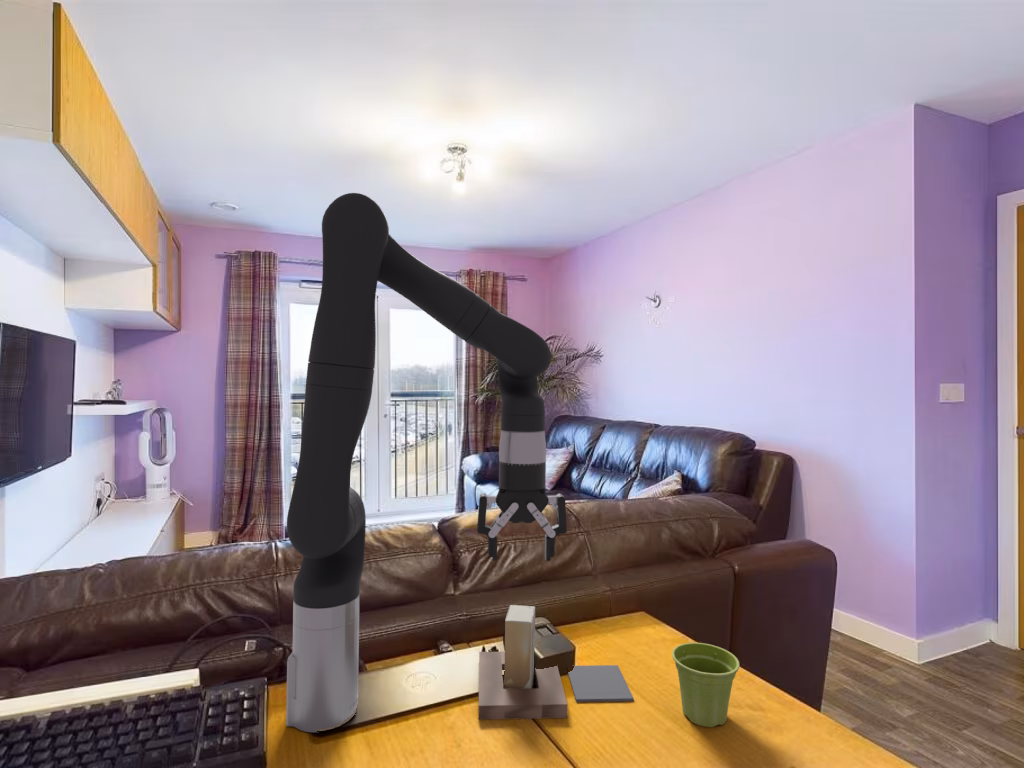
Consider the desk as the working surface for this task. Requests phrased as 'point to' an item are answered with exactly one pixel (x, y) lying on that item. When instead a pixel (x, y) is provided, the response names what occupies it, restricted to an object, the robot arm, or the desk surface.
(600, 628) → the desk surface
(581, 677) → the mat
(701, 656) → the plant pot
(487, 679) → the puzzle board
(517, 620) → the skincare box
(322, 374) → the robot arm
